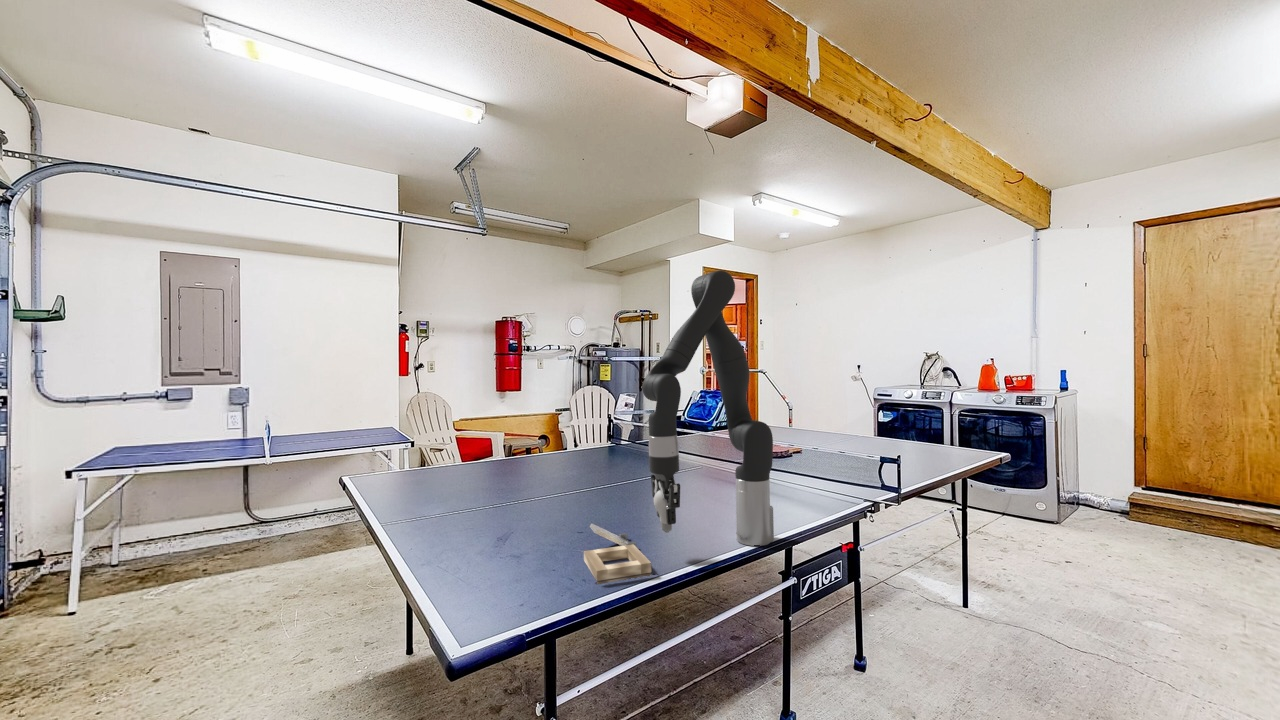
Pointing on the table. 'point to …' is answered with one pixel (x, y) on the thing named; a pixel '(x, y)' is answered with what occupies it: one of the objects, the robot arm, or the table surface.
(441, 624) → the table surface
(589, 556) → the socket
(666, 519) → the lightbulb
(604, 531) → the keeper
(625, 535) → the keeper bracket
